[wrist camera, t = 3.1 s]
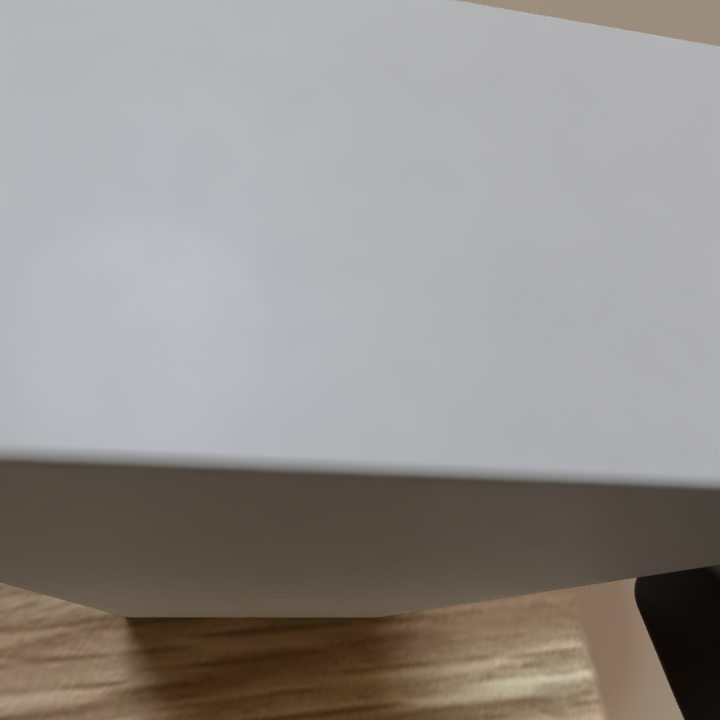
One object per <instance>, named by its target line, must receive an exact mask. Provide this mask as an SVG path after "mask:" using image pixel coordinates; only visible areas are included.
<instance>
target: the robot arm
mask: <svg viewBox="0 0 720 720" xmlns="http://www.w3.org/2000/svg"><path fill="white" fill-rule="evenodd" d="M634 592H635V600H636V604H637V607H638V609H639V611H640V614H641V616H642V619H643V621H644V624H645V626H646V628H647V631H648V633H649V636H650V638H651V640H652V643H653V646H654V648H655V650H656V653H657V655H658V658H659V660H660V663H661V665H662V668H663V670H664V672H665V675H666V677H667V680H668V682H669V685H670V687H671V690H672V692H673V694H674V697H675V699H676V702H677V704H678V706H679V708H680V710H681V713H682V715H683V717H684V720H720V565H715V566H708V567H702V568H695V569H689V570H682V571H676V572H669V573H663V574H656V575H650V576H643V577H637V579H636V582H635V589H634Z"/></svg>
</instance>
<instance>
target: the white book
mask: <svg viewBox="0 0 720 720" xmlns="http://www.w3.org/2000/svg"><path fill="white" fill-rule="evenodd" d="M715 565H720V46H714V45H708V44H702V43H697V42H691V41H686V40H680V39H674V38H668V37H663V36H657V35H651V34H645V33H639V32H634V31H628V30H622V29H616V28H611V27H605V26H600V25H594V24H588V23H582V22H577V21H571V20H565V19H559V18H554V17H548V16H542V15H537V14H531V13H525V12H519V11H514V10H508V9H502V8H497V7H491V6H485V5H479V4H474V3H468V2H462V1H457V0H0V582H1V583H5V584H8V585H12V586H15V587H19V588H23V589H26V590H30V591H33V592H37V593H41V594H44V595H48V596H51V597H55V598H59V599H62V600H66V601H70V602H73V603H77V604H80V605H84V606H88V607H91V608H95V609H98V610H102V611H106V612H109V613H113V614H116V615H120V616H124V617H273V618H377V617H384V616H390V615H397V614H403V613H410V612H416V611H423V610H429V609H436V608H442V607H449V606H455V605H462V604H468V603H475V602H481V601H488V600H494V599H501V598H507V597H514V596H520V595H527V594H533V593H539V592H546V591H552V590H559V589H565V588H572V587H578V586H585V585H591V584H598V583H604V582H611V581H617V580H623V579H630V578H637V577H643V576H650V575H656V574H663V573H669V572H676V571H682V570H689V569H695V568H702V567H708V566H715Z"/></svg>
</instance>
